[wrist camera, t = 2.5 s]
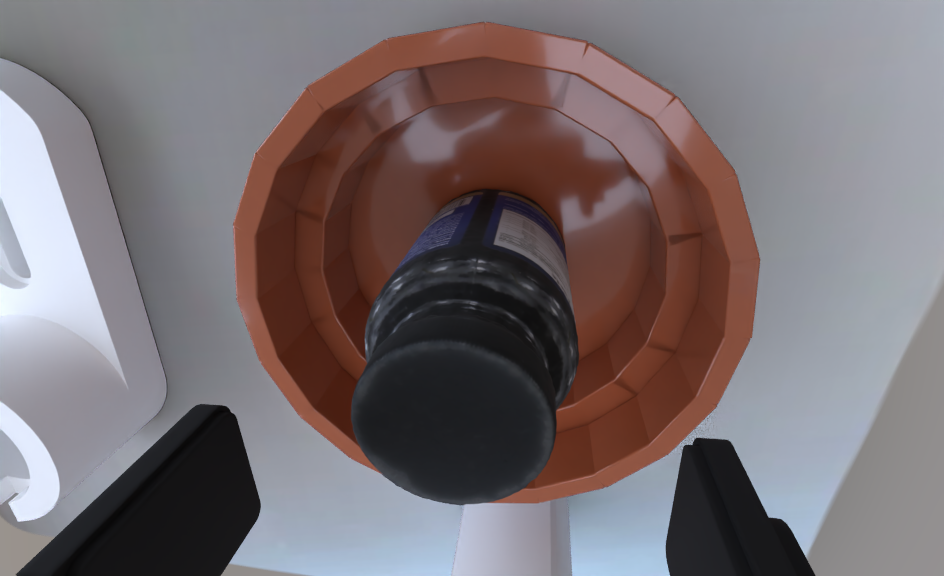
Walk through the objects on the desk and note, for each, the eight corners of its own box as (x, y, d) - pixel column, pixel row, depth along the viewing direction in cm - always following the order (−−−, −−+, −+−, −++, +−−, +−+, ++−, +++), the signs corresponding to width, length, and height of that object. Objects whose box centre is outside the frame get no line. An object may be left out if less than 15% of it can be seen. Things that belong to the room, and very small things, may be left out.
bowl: (267, 306, 24) (185, 377, 18) (402, -57, 17) (334, -114, 11) (556, 456, 25) (559, 562, 20) (793, 180, 18) (897, 229, 13)
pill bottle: (432, 319, 22) (343, 522, 12) (414, 188, 20) (285, 311, 10) (567, 317, 21) (587, 535, 12) (566, 180, 19) (591, 306, 9)
